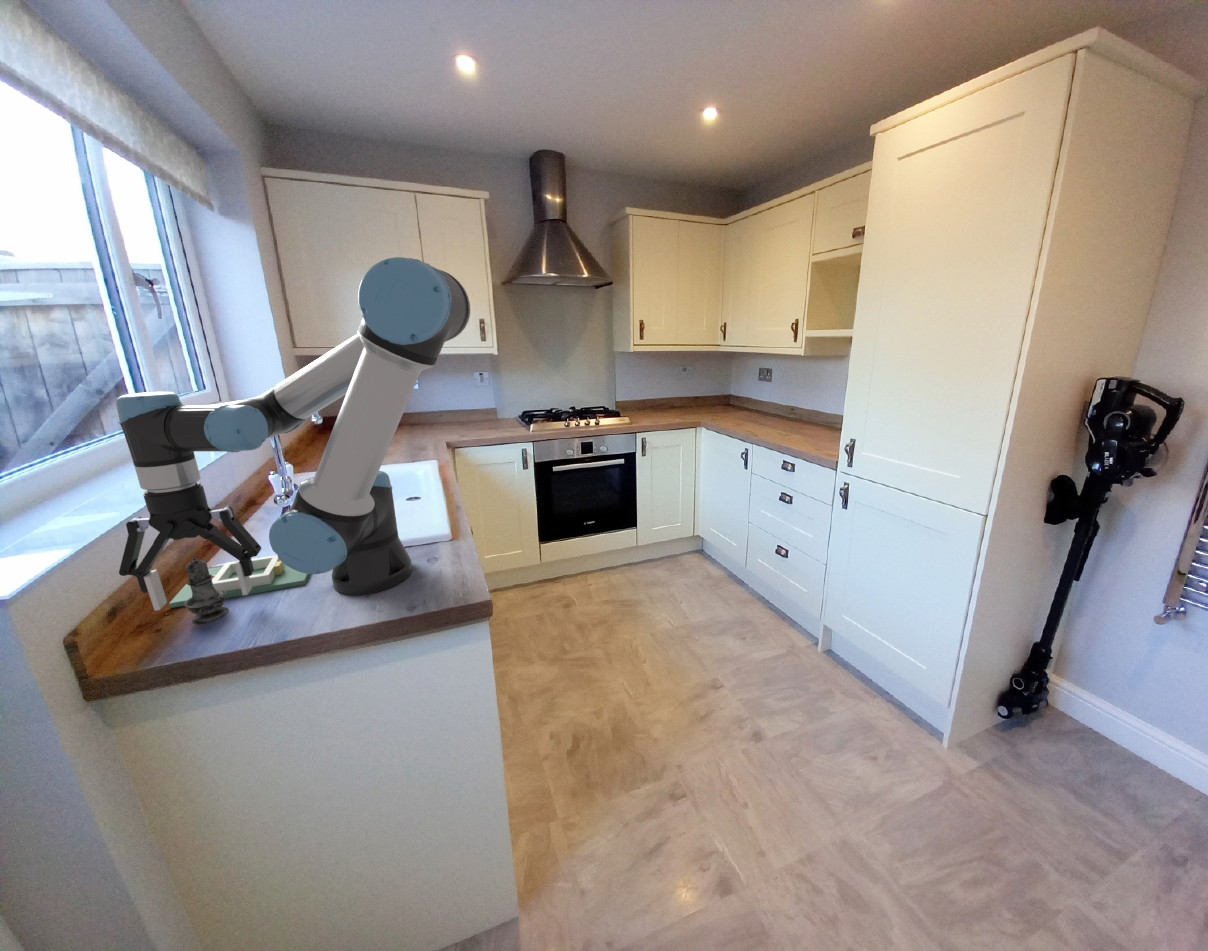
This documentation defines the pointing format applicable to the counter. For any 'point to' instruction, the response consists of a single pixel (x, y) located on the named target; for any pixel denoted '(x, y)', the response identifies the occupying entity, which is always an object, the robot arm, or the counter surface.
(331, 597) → the counter surface
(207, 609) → the dark grey tiered ornament
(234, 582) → the header board
